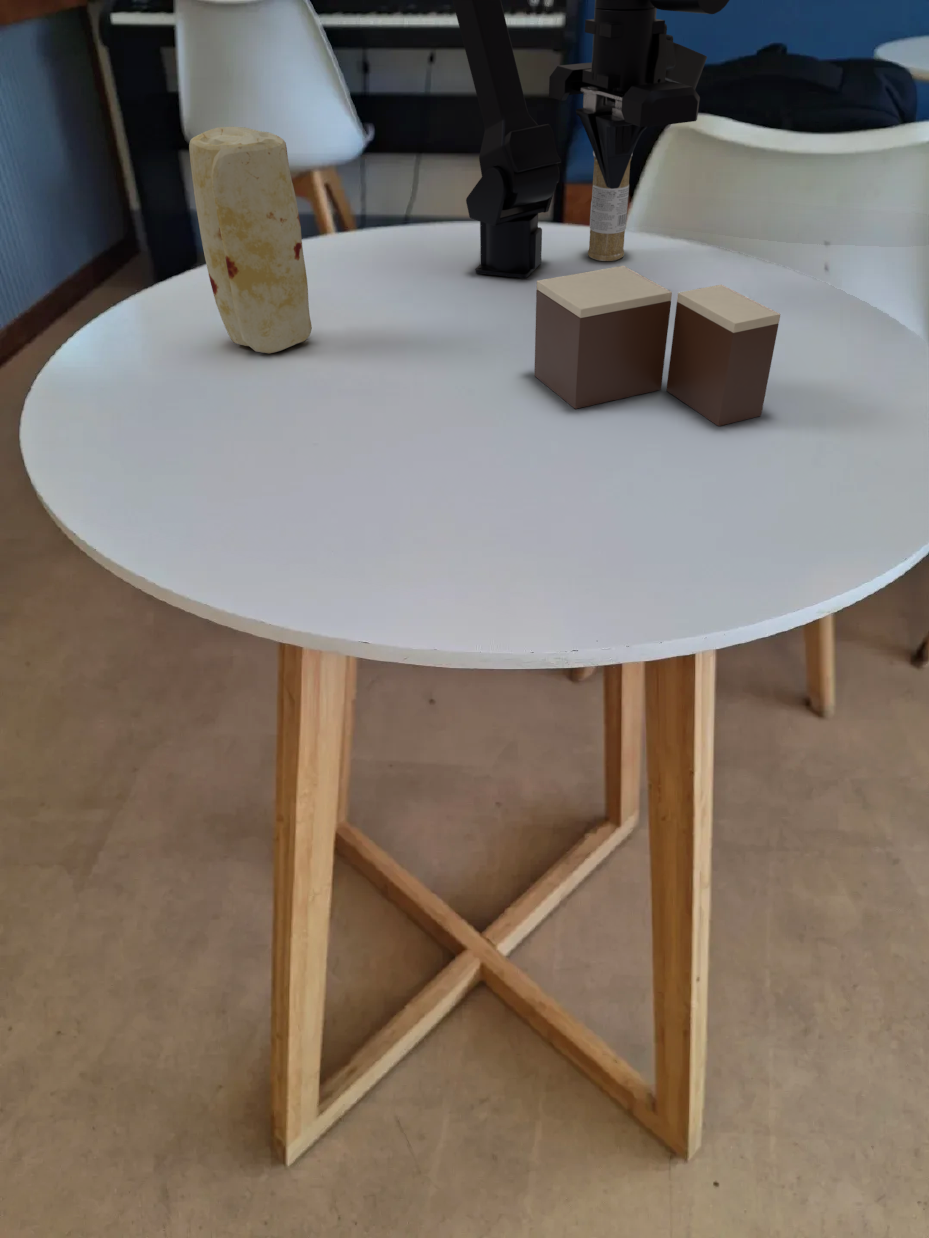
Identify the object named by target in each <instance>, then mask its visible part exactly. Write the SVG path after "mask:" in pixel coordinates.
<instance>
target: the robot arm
mask: <svg viewBox="0 0 929 1238" xmlns="http://www.w3.org/2000/svg"><path fill="white" fill-rule="evenodd" d="M729 2H730V0H594V11H593V13H594V14H593V15H594V16H593V18H591V19H590V18H589V19H585V20H584V33H585V34H591V35H592V52H591V62H581V63H573V64H562V65H560V64H559V65H557V66H556V67H555V68H554V70H553V71H552V73H551V74H550V76H549V81H548V97H549V98H551V99H555V100H558V101H560V102H562V101H566V100H567V99H568V97H569V96H573V95H582V94H583V96H582V97H583V99H582V107H580V108H576V109H575V115H576V116H578V117H579V119H580V121H581V124H582V126H583V128H584V131H585V133H586V136H587V138H588V141H589V143H590V145H591V149H592V152H593V151H594V153H595V156H596V159H597V162H598V164H599V167H600V170H601V173H602V175H603V178H604V181H605V184H606V186H607V187H608V188H610V189H615V188H619V186H620V184H621V182H622V179H623V176H624V174H625V171H626V169H627V166H628V163H629V161H630V158H631V159H632V156H633V154H632V153H634V150H635V148H636V145H637V144H638V142H639V139H640V137H641V136H642V133H643V132H644V131H645V130H646V129H647V128H652V127H660V126H667V125H676V124H686V123H691V122H697V121H698V117H699V115H698V114H699V109H700V108H699V107H700V101H701V97H700V95H699V94H698V92H697V90H696V89H697V86H698V83H699V81H700V78H701V76H702V72H703V69H704V67H705V64H706V61H707V59H708V56H707V55H705V54H703V53H700V52H699V51H696V50H694V49H692V48H689V47H687V46H684V45H682V44H679V43H677V42H675V41H674V36H673V34H672V35H671V34H667V33H668V26H667V24H666V20H665V19H660V18H657V12H658V10H660V11H668V12H679V13H680V12H681V13H689V14H690V13H691V14H703V15H715V14H717V13H719V12H721V11H722V10H723V9H724V8H725V7H726V6H727V5H728V3H729ZM452 4H453V8H454V11H455V17H456V20H457V24H458V28H459V31H460V35H461V40H462V43H463V47H464V50H465V55H466V59H467V63H468V66H469V70H470V74H471V79H472V83H473V86H474V89H475V93H476V97H477V98H476V99H477V101H478V106H479V109H480V113H481V116H482V121H483V125H484V132H483V133H484V134H483V138H482V142H481V146H480V152H479V155H478V161H479V166H480V173H481V177H480V178H479V180H478V181H477V183H476V184H475V185H474V187H473V188H472V190H471V191H470V192H469V194H468V196H467V197H466V198H465V203H466V207H467V212H468V216H469V218H470V219H472V220H475V221H477V222H479V238H480V239H479V245H480V246H479V247H480V249H479V250H480V251H479V252H480V253H479V254H480V255H479V256H480V264H479V265H477V267H476V268H475V273H476V274H479V275H480V274H481V275H488V276H489V275H490V276H498V277H508V278H518V279H526V278H528V277H529V276H530V275H531V274H532V273H533V272H534V271H535V270H536V269H537V268H538V267H539V266H540V265H541V264H542V248H543V245H542V244H543V242H542V241H543V228H541V227H539V214H540V213H548V212H549V211H550V207H551V204H552V201H553V196H554V194H555V191H556V188H557V184H558V183H559V182H560V168H559V165H558V164H560V163H562V160H561V158H560V156H559V155H558V152H557V148H556V144H555V136H554V131H553V129H552V127H551V125H550V124H549V123H547V124H541V125H538V123H537V122H536V121H535V120H534V119H533V118H532V116H531V115H530V113H529V111H528V108H527V103H526V99H525V95H524V91H523V87H522V83H521V78H520V74H519V70H518V66H517V62H516V57H515V53H514V49H513V46H512V41H511V37H510V34H509V33H510V32H509V28H508V25H507V21H506V16H505V12H504V8H503V5H502V4H503V3H502V0H452ZM631 155H632V156H631ZM630 162H631V161H630Z"/></svg>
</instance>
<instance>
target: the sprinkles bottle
mask: <svg viewBox="0 0 929 1238" xmlns="http://www.w3.org/2000/svg"><path fill="white" fill-rule="evenodd" d="M633 153H634V152H633ZM633 153H632V155H631V158H630V161H629V163H628V166H627V169H626V171H625V174H624V176H623V179H622V182H621V184H620V186H619V188H615V189H610V188H608V187H607V186H606V184H605V181H604V178H603V175H602V173H601V170H600V167H599V164H598V162H597V159H596V156H595V153H594V151H593V150H592V155H593V160H594V162H593V175H592V191H591V202H590V216H589V242H588V244H589V245H588V250H587V255H588V256H589V258H591V259H593V260H597V261H602V262H611V261H618V260H620V259H622V258H623V257H624V254H625V250H624V248H625V247H624V246H625V233H626V229H627V220H628V219H627V217H628V208H629V207H628V205H629V194H630V173H631V170H630V169H631V161H632V157H633Z"/></svg>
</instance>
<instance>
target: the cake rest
mask: <svg viewBox="0 0 929 1238" xmlns="http://www.w3.org/2000/svg"><path fill="white" fill-rule="evenodd" d="M535 293H536V295H535V296H536V297H535V301H536V302H535V331H534V332H535V333H534V334H535V335H534V336H535V337H534V338H535V339H534V371H533V372H534V373H533V374H534V377H535V378H536V379H538V380H539V381H540V382H541V383H542V384H544V385H545V386H546V387H547V388H549V389H550V390H551V391H553V392H554V393H555V394H556V395H558V396H559V398H561V399H562V400H564V401H565V402H566V403H567V404H569V405H570V406H571V407H572V408H573V409H575V410H577V409H581V408H585V407H590V406H596V405H599V404H604V403H608V402H613V401H618V400H621V399H626V398H629V397H634V396H639V395H644V394H647V393H651V392H656V391H657V392H658V391H661V390H662V384H663V377H664V376H663V374H664V366H665V360H666V359H665V357H666V351H667V342H668V341H667V340H668V332H669V325H670V324H669V323H670V314H671V307H672V296H673V291H671V290H669V289H667V288H666V287H664V286H662V285H660V284H658V283H656V282H654V281H652V280H650V279H649V278H647V277H645V276H644V275H641V274H639V273H638V272H636V271H634V270H632V269H630V268H628V267H627V266H625V265H619V266H612V267H607V268H601V269H596V270H590V271H585V272H579V273H573V274H567V275H561V276H556V277H550V278H545V279H539V280H536V291H535Z"/></svg>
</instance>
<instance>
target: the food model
mask: <svg viewBox="0 0 929 1238" xmlns="http://www.w3.org/2000/svg"><path fill="white" fill-rule="evenodd" d="M188 144H189V145H188V150H189V160H190V170H191V171H190V172H191V179H192V186H193V193H194V202H195V209H196V214H197V215H196V216H197V219H198V220H197V222H198V227H199V233H200V238H201V245H202V249H203V253H204V260H205V264H206V270H207V275H208V277H209V282H210V286H211V289H212V293H213V298H214V301H215V302H214V303H215V305H216V308H217V310H218V313H219V317H220V318H221V321H222V323H223V325H224V328H225V330H226V332H227V334H228V336H229V338H230V340H231V341H232V342H233V343H234V344H236V345H241V346H245V347H250V348H251V349H252V350H253V351H254V352H258V353H263V354H269V355H271V354H273V353H274V354H275V353H277V352H281V351H283V350H285V349H288V348H290V347H292V346H295V345H298V344H301V343H303V342H305V341H307V340H308V338H309V337H310V335H311V333H312V330H313V326H312V320H311V315H310V314H311V313H310V305H309V304H310V303H309V285H308V275H307V269H306V262H305V255H304V248H303V247H304V246H303V237H302V228H301V227H302V226H301V220H300V213H299V208H298V207H299V206H298V202H297V197H296V192H295V188H294V184H293V180H292V174H291V170H290V164H289V156H288V148H287V142H286V141H285V140H284V138H282V137H281V136H279V135H277V134H274V133H272V132H269V131H262V130H256V129H253V128H250V127H246V126H218V127H214V128H212V129H209V130H205V131H204V132H202V133H199V134H198V135H195V136H194V137H192V138H191V139H190V141H189V143H188Z"/></svg>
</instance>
